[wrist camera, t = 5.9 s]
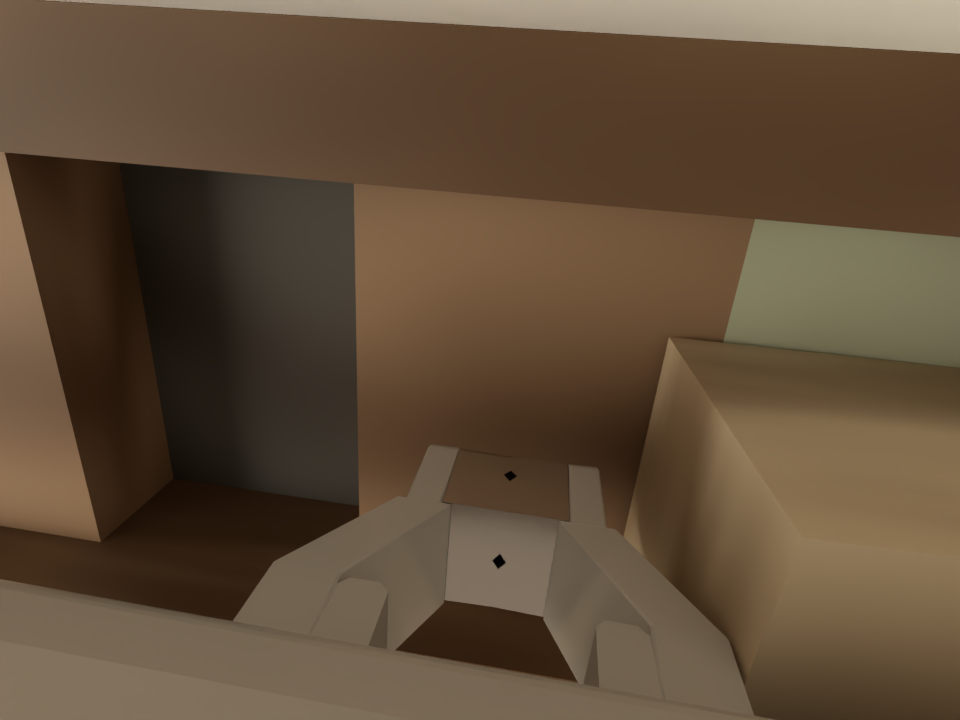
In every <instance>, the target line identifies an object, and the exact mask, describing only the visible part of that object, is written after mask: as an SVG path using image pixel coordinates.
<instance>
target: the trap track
mask: <svg viewBox="0 0 960 720" xmlns="http://www.w3.org/2000/svg"><path fill="white" fill-rule="evenodd" d="M669 337H674V338H683V339H693V340H702V341H711V342H721V343H730V344H740V345H749V346H758V347H768V348H777V349H787V350H796V351H805V352H815V353H824V354H834V355H843V356H852V357H862V358H871V359H881V360H890V361H899V362H909V363H918V364H928V365H937V366H946V367H956V368H960V54H954V53H937V52H919V51H902V50H885V49H868V48H851V47H833V46H816V45H799V44H782V43H765V42H747V41H730V40H713V39H696V38H679V37H661V36H644V35H627V34H610V33H593V32H576V31H558V30H541V29H524V28H507V27H490V26H472V25H455V24H438V23H421V22H404V21H386V20H369V19H352V18H335V17H318V16H300V15H283V14H266V13H249V12H232V11H215V10H197V9H180V8H163V7H146V6H129V5H111V4H94V3H77V2H60V1H43V0H0V579H3V580H8V581H14V582H19V583H25V584H30V585H36V586H41V587H47V588H52V589H58V590H63V591H69V592H74V593H80V594H85V595H91V596H96V597H102V598H107V599H113V600H118V601H124V602H129V603H135V604H140V605H146V606H151V607H157V608H162V609H168V610H173V611H179V612H184V613H190V614H195V615H201V616H206V617H212V618H217V619H223V620H228V621H233V620H234V618H235V617H236V616H237V614H238V613H239V611H240V610H241V608H242V607H243V605H244V604H245V603H246V601H247V600H248V598H249V597H250V595H251V594H252V592H253V591H254V589H255V588H256V587H257V585H258V584H259V582H260V581H261V579H262V578H263V576H264V575H265V573H266V572H267V571H268V569H269V568H270V566H271V565H272V563H273V562H274V561H276V560H278V559H279V558H281V557H283V556H285V555H287V554H289V553H291V552H293V551H295V550H297V549H299V548H300V547H302V546H304V545H306V544H308V543H310V542H312V541H314V540H316V539H318V538H319V537H321V536H323V535H325V534H327V533H329V532H331V531H333V530H335V529H337V528H338V527H340V526H342V525H344V524H346V523H348V522H350V521H352V520H354V519H356V518H358V517H359V516H361V515H363V514H365V513H367V512H369V511H371V510H373V509H375V508H377V507H378V506H380V505H382V504H384V503H386V502H388V501H390V500H392V499H394V498H396V497H397V496H401V497H407V495H408V493H409V490H410V488H411V486H412V484H413V481H414V479H415V477H416V474H417V472H418V470H419V468H420V465H421V463H422V461H423V458H424V456H425V454H426V451H427V449H428V447H429V446H430V445H432V444H435V445H443V446H451V447H458V448H459V449H461V448H462V449H468V450H475V451H481V452H487V453H493V454H499V455H505V456H511V457H517V458H521V459H529V460H538V461H546V462H555V463H563V464H572V465H582V466H591V467H597V468H598V469H599V470H600V477H601V485H602V493H603V501H604V510H605V518H606V526H607V528H610V529H616V530H617V531H618V532H619V533H620V534H621V535H622V536H623V537H624V532H625V528H626V524H627V519H628V515H629V510H630V506H631V502H632V497H633V493H634V488H635V484H636V480H637V475H638V471H639V466H640V462H641V458H642V453H643V449H644V444H645V440H646V436H647V431H648V427H649V422H650V418H651V414H652V409H653V405H654V400H655V396H656V392H657V387H658V383H659V378H660V374H661V370H662V365H663V361H664V356H665V352H666V348H667V343H668V339H669ZM543 618H544V617H541V616H536V615H531V614H526V613H521V612H516V611H511V610H506V609H501V608H496V607H490V606H483V605H476V604H469V603H462V602H455V601H448V600H444V603H443V604H442V605H441V606H440V607H439V608H438V609H437V610H436V611H435V612H434V613H433V614H432V615H431V616H430V617H429V618H428V619H427V620H426V621H425V622H424V623H423V624H422V625H420V626H419V627H418V628H417V629H416V630H415V631H414V632H413V633H412V634H411V635H410V636H409V637H408V638H407V639H406V640H405V641H404V642H403V643H402V644H401V645H400V646H399V647H398V648H397V649H396V650H395V651H399V652H405V653H410V654H416V655H421V656H427V657H433V658H438V659H444V660H449V661H455V662H460V663H466V664H472V665H477V666H483V667H488V668H494V669H499V670H505V671H511V672H516V673H522V674H527V675H533V676H538V677H544V678H550V679H555V680H561V681H566V682H572V683H577V684H579V683H578V681H577V680H576V678H575V676H574V674H573V672H572V671H571V669H570V667H569V665H568V663H567V662H566V660H565V658H564V656H563V654H562V652H561V651H560V649H559V647H558V645H557V643H556V642H555V640H554V638H553V636H552V634H551V633H550V631H549V629H548V627H547V625H546V624H545V622H544V620H543Z"/></svg>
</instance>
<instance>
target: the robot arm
mask: <svg viewBox="0 0 960 720" xmlns="http://www.w3.org/2000/svg"><path fill="white" fill-rule="evenodd" d="M444 600H448V601H455V602H462V603H469V604H476V605H483V606H490V607H496V608H501V609H506V610H511V611H516V612H521V613H526V614H531V615H536V616H541V617H544V618H543V620H544V622H545V624H546V625H547V627H548V629H549V631H550V633H551V634H552V636H553V638H554V640H555V642H556V643H557V645H558V647H559V649H560V651H561V652H562V654H563V656H564V658H565V660H566V662H567V663H568V665H569V667H570V669H571V671H572V672H573V674H574V676H575V678H576V680H577V681H578V683H579V684H577V683H572V682H566V681H561V680H555V679H550V678H544V677H538V676H533V675H527V674H522V673H516V672H511V671H505V670H499V669H494V668H488V667H483V666H477V665H472V664H466V663H460V662H455V661H449V660H444V659H438V658H433V657H427V656H421V655H416V654H410V653H405V652H399V651H395V650H396V649H397V648H398V647H399V646H400V645H401V644H402V643H403V642H404V641H405V640H406V639H407V638H408V637H409V636H410V635H411V634H412V633H413V632H414V631H415V630H416V629H417V628H418V627H419V626H420V625H422V624H423V623H424V622H425V621H426V620H427V619H428V618H429V617H430V616H431V615H432V614H433V613H434V612H435V611H436V610H437V609H438V608H439V607H440V606H441V605H442V604H443V603H444ZM0 720H775V719H770V718H764V717H759V716H754V714H753V711H752V708H751V705H750V702H749V699H748V696H747V693H746V690H745V687H744V684H743V681H742V678H741V675H740V672H739V669H738V666H737V663H736V660H735V657H734V654H733V651H732V648H731V645H730V642H729V639H728V638H727V637H726V636H725V635H723V634H722V633H721V632H720V631H719V630H718V629H717V628H716V627H715V626H714V625H713V624H712V623H711V622H710V621H709V620H708V619H707V618H706V617H705V616H704V615H703V614H702V613H701V612H700V611H699V610H698V609H697V608H696V607H695V606H694V605H693V604H692V603H691V602H690V601H689V600H688V599H687V598H686V597H685V596H683V595H682V594H681V593H680V592H679V591H678V590H677V589H676V588H675V587H674V586H673V585H672V584H671V583H670V582H669V581H668V580H667V579H666V578H665V577H664V576H663V575H662V574H661V573H660V572H659V571H658V570H657V569H656V568H655V567H654V566H653V565H652V564H651V563H650V562H649V561H648V560H647V559H646V558H645V557H643V556H642V555H641V554H640V553H639V552H638V551H637V550H636V549H635V548H634V547H633V546H632V545H631V544H630V543H629V542H628V541H627V540H626V539H625V538H624V537H623V536H622V535H621V534H620V533H619V532H618V531H617V530H616V529H610V528H607V526H606V518H605V510H604V501H603V493H602V485H601V477H600V470H599V469H598V468H597V467H591V466H582V465H572V464H563V463H555V462H546V461H538V460H529V459H521V458H517V457H511V456H505V455H499V454H493V453H487V452H481V451H475V450H468V449H462V448H461V449H459V448H458V447H451V446H443V445H435V444H432V445H430V446H429V447H428V449H427V451H426V454H425V456H424V458H423V461H422V463H421V465H420V468H419V470H418V472H417V474H416V477H415V479H414V481H413V484H412V486H411V488H410V490H409V493H408V495H407V497H401V496H397V497H396V498H394V499H392V500H390V501H388V502H386V503H384V504H382V505H380V506H378V507H377V508H375V509H373V510H371V511H369V512H367V513H365V514H363V515H361V516H359V517H358V518H356V519H354V520H352V521H350V522H348V523H346V524H344V525H342V526H340V527H338V528H337V529H335V530H333V531H331V532H329V533H327V534H325V535H323V536H321V537H319V538H318V539H316V540H314V541H312V542H310V543H308V544H306V545H304V546H302V547H300V548H299V549H297V550H295V551H293V552H291V553H289V554H287V555H285V556H283V557H281V558H279V559H278V560H276V561H274V562H273V563H272V565H271V566H270V568H269V569H268V571H267V572H266V573H265V575H264V576H263V578H262V579H261V581H260V582H259V584H258V585H257V587H256V588H255V589H254V591H253V592H252V594H251V595H250V597H249V598H248V600H247V601H246V603H245V604H244V605H243V607H242V608H241V610H240V611H239V613H238V614H237V616H236V617H235V618H234V620H233V621H228V620H223V619H217V618H212V617H206V616H201V615H195V614H190V613H184V612H179V611H173V610H168V609H162V608H157V607H151V606H146V605H140V604H135V603H129V602H124V601H118V600H113V599H107V598H102V597H96V596H91V595H85V594H80V593H74V592H69V591H63V590H58V589H52V588H47V587H41V586H36V585H30V584H25V583H19V582H14V581H8V580H3V579H0Z"/></svg>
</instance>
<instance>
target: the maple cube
mask: <svg viewBox="0 0 960 720" xmlns="http://www.w3.org/2000/svg"><path fill="white" fill-rule="evenodd" d="M624 538H625V539H626V540H627V541H628V542H629V543H630V544H631V545H632V546H633V547H634V548H635V549H636V550H637V551H638V552H639V553H640V554H641V555H642V556H643V557H645V558H646V559H647V560H648V561H649V562H650V563H651V564H652V565H653V566H654V567H655V568H656V569H657V570H658V571H659V572H660V573H661V574H662V575H663V576H664V577H665V578H666V579H667V580H668V581H669V582H670V583H671V584H672V585H673V586H674V587H675V588H676V589H677V590H678V591H679V592H680V593H681V594H682V595H683V596H685V597H686V598H687V599H688V600H689V601H690V602H691V603H692V604H693V605H694V606H695V607H696V608H697V609H698V610H699V611H700V612H701V613H702V614H703V615H704V616H705V617H706V618H707V619H708V620H709V621H710V622H711V623H712V624H713V625H714V626H715V627H716V628H717V629H718V630H719V631H720V632H721V633H722V634H723V635H725V636H726V637H727V638H728V639H729V642H730V645H731V648H732V651H733V654H734V657H735V660H736V663H737V666H738V669H739V672H740V675H741V678H742V681H743V684H744V687H745V690H746V693H747V696H748V699H749V702H750V705H751V708H752V711H753V714H754V716H759V717H764V718H770V719H775V720H960V368H956V367H946V366H937V365H928V364H918V363H909V362H899V361H890V360H881V359H871V358H862V357H852V356H843V355H834V354H824V353H815V352H805V351H796V350H787V349H777V348H768V347H758V346H749V345H740V344H730V343H721V342H711V341H702V340H693V339H683V338H674V337H669V339H668V343H667V348H666V352H665V356H664V361H663V365H662V370H661V374H660V378H659V383H658V387H657V392H656V396H655V400H654V405H653V409H652V414H651V418H650V422H649V427H648V431H647V436H646V440H645V444H644V449H643V453H642V458H641V462H640V466H639V471H638V475H637V480H636V484H635V488H634V493H633V497H632V502H631V506H630V510H629V515H628V519H627V524H626V528H625V532H624Z"/></svg>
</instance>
